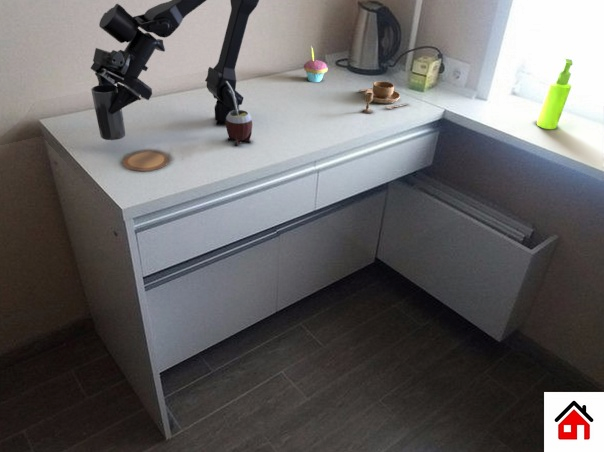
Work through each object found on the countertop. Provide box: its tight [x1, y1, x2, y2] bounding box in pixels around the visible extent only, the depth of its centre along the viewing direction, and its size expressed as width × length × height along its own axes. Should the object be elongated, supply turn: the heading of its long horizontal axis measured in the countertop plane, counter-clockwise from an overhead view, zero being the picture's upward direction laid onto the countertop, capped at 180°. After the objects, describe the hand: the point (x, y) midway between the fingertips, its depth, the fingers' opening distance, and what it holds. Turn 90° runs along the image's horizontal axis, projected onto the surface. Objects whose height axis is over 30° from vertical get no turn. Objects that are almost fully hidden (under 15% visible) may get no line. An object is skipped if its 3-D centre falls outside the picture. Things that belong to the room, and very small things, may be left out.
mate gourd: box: [225, 81, 253, 147], centre depth 131 cm, size 8×8×15 cm
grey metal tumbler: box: [90, 84, 126, 141], centre depth 121 cm, size 6×6×12 cm
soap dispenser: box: [536, 58, 574, 130], centre depth 150 cm, size 6×7×20 cm
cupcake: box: [303, 45, 328, 83], centre depth 178 cm, size 9×8×12 cm
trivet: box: [122, 149, 170, 172], centre depth 122 cm, size 11×11×1 cm
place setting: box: [358, 80, 408, 114], centre depth 164 cm, size 18×20×6 cm
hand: (102, 109), depth 120 cm, fingers closed on grey metal tumbler, 6 cm apart
